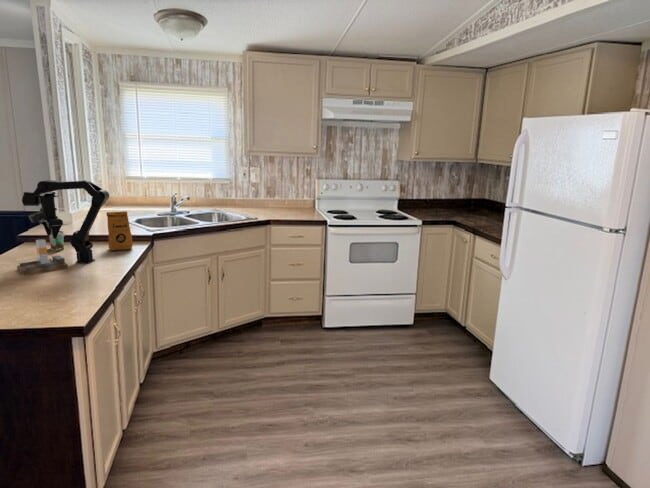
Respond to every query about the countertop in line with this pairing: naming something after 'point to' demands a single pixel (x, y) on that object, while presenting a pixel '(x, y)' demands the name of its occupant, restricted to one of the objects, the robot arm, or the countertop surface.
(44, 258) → the sliding jaw
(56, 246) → the food container
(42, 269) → the base
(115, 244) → the coffee package
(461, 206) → the countertop surface
